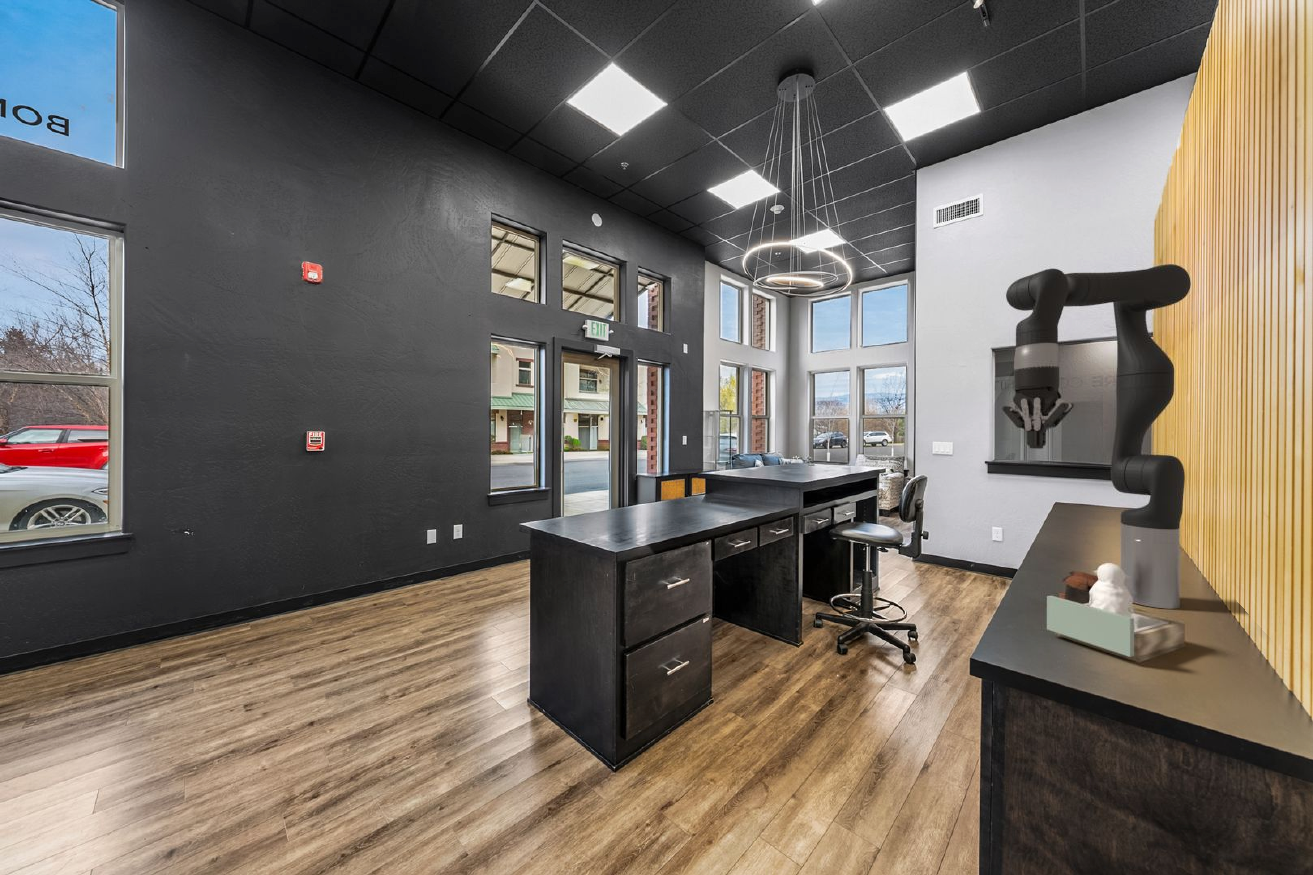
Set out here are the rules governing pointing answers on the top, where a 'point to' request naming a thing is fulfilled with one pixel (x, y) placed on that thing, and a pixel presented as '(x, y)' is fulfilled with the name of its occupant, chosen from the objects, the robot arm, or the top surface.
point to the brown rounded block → (1078, 587)
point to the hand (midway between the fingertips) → (1036, 448)
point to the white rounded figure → (1111, 591)
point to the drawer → (1097, 625)
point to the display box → (1150, 639)
